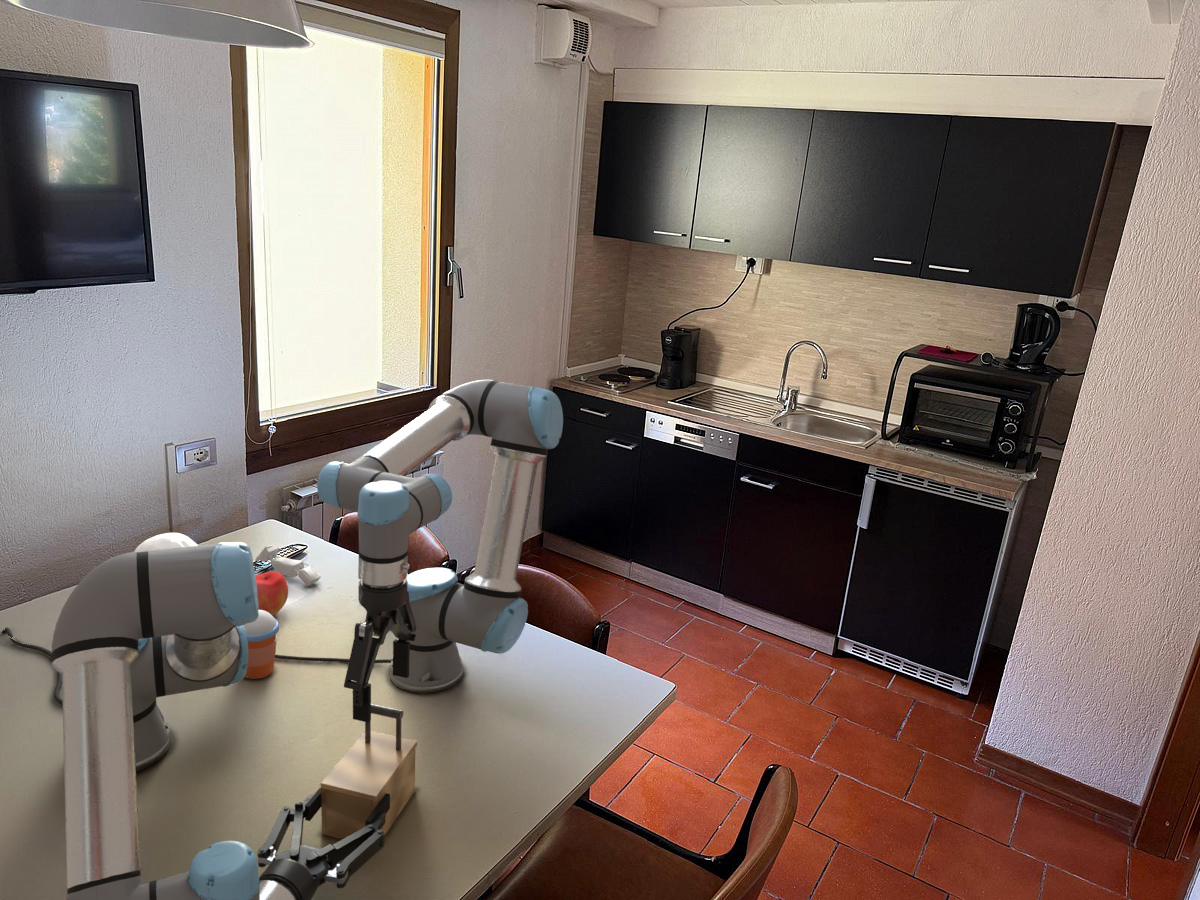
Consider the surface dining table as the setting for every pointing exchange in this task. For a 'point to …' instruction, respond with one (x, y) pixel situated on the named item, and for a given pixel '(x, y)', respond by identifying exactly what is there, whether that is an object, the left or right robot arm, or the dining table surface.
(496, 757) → the dining table surface
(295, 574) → the white long bent piece
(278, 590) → the apple
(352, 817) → the chest
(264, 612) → the cup with straw
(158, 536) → the skull
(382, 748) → the lid
